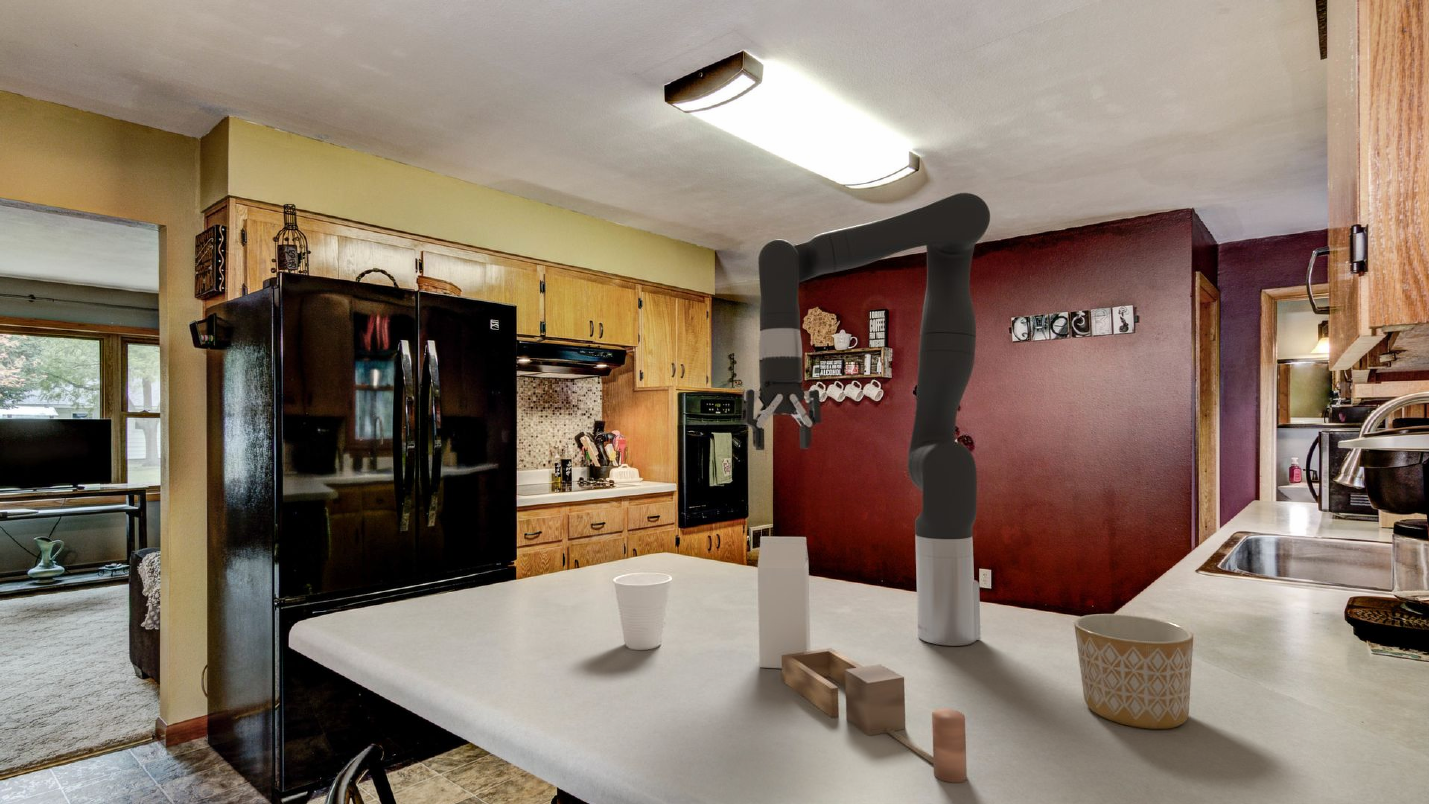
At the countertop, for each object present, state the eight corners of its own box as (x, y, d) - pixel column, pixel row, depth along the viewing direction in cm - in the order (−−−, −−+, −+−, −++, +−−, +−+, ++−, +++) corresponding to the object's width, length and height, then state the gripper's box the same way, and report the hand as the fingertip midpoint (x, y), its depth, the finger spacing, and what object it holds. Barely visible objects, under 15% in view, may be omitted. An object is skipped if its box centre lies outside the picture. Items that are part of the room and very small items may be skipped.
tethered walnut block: (846, 719, 85) (845, 669, 86) (881, 712, 87) (879, 664, 87) (940, 786, 69) (938, 724, 69) (980, 777, 71) (979, 717, 71)
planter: (1200, 744, 77) (1196, 648, 78) (1072, 720, 84) (1069, 632, 84) (1194, 705, 88) (1190, 621, 89) (1081, 687, 95) (1078, 609, 95)
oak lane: (781, 680, 99) (781, 655, 99) (831, 672, 102) (831, 648, 102) (831, 717, 86) (831, 688, 86) (887, 707, 89) (886, 679, 89)
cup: (602, 650, 114) (601, 582, 115) (631, 633, 123) (630, 571, 124) (656, 657, 110) (655, 586, 111) (682, 639, 120) (681, 574, 120)
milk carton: (807, 670, 103) (804, 540, 104) (759, 668, 104) (757, 540, 105) (810, 655, 110) (807, 533, 111) (765, 653, 111) (763, 533, 112)
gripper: (806, 359, 128) (808, 448, 128) (734, 358, 124) (736, 450, 123) (826, 355, 121) (829, 448, 121) (751, 353, 117) (753, 451, 116)
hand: (782, 449), depth 122 cm, fingers open, 8 cm apart
